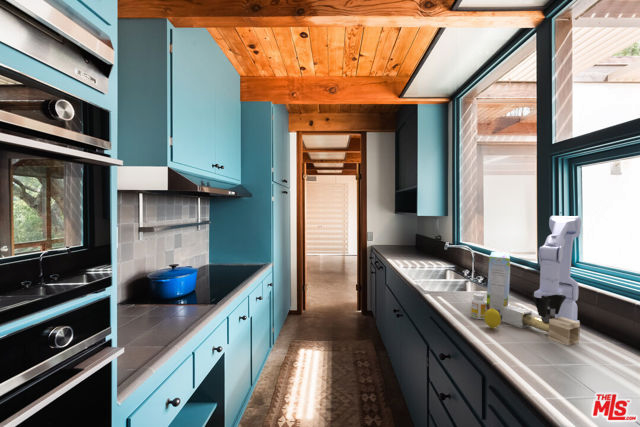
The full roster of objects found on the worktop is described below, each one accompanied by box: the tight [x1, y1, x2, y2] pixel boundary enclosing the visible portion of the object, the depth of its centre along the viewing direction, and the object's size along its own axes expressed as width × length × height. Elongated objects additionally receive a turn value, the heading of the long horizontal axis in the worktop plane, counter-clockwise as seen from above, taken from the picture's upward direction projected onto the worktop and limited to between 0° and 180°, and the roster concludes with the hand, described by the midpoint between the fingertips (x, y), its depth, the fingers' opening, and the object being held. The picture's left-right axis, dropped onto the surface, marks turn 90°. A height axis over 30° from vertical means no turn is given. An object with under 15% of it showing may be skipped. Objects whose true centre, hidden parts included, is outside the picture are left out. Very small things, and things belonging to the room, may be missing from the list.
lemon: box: [483, 308, 502, 329], centre depth 120 cm, size 6×6×8 cm
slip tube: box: [523, 306, 555, 333], centre depth 117 cm, size 4×16×9 cm, turn 25°
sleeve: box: [501, 305, 533, 329], centre depth 126 cm, size 6×8×6 cm
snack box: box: [485, 251, 511, 317], centre depth 143 cm, size 22×9×26 cm, turn 148°
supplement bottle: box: [470, 293, 487, 320], centre depth 132 cm, size 5×5×10 cm
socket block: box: [548, 317, 581, 346], centre depth 110 cm, size 7×6×7 cm
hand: (548, 314), depth 115 cm, fingers open, 7 cm apart
